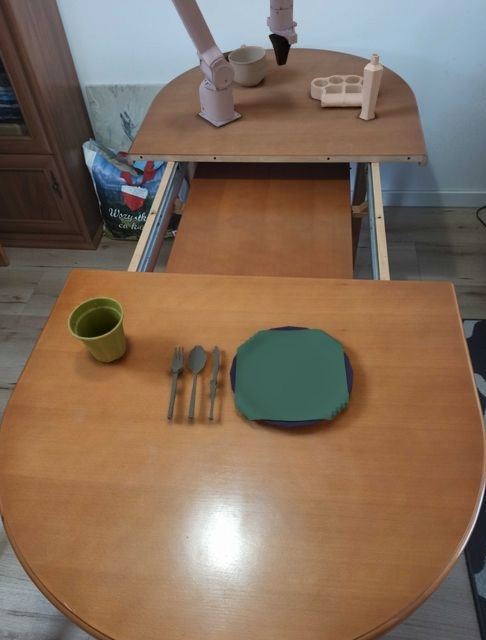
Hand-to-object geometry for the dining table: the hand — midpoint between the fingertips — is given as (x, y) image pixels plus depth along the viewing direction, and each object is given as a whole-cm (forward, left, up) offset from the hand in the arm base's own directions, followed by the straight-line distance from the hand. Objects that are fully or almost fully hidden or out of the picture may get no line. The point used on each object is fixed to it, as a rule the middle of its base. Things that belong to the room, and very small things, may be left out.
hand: (281, 64), depth 133 cm
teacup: (-17, +1, -10) cm, 19 cm away
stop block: (-25, +3, -9) cm, 27 cm away
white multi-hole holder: (+11, +13, -10) cm, 20 cm away
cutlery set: (+72, -63, -10) cm, 96 cm away
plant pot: (+50, -80, -10) cm, 95 cm away
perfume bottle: (+23, +10, -10) cm, 27 cm away
